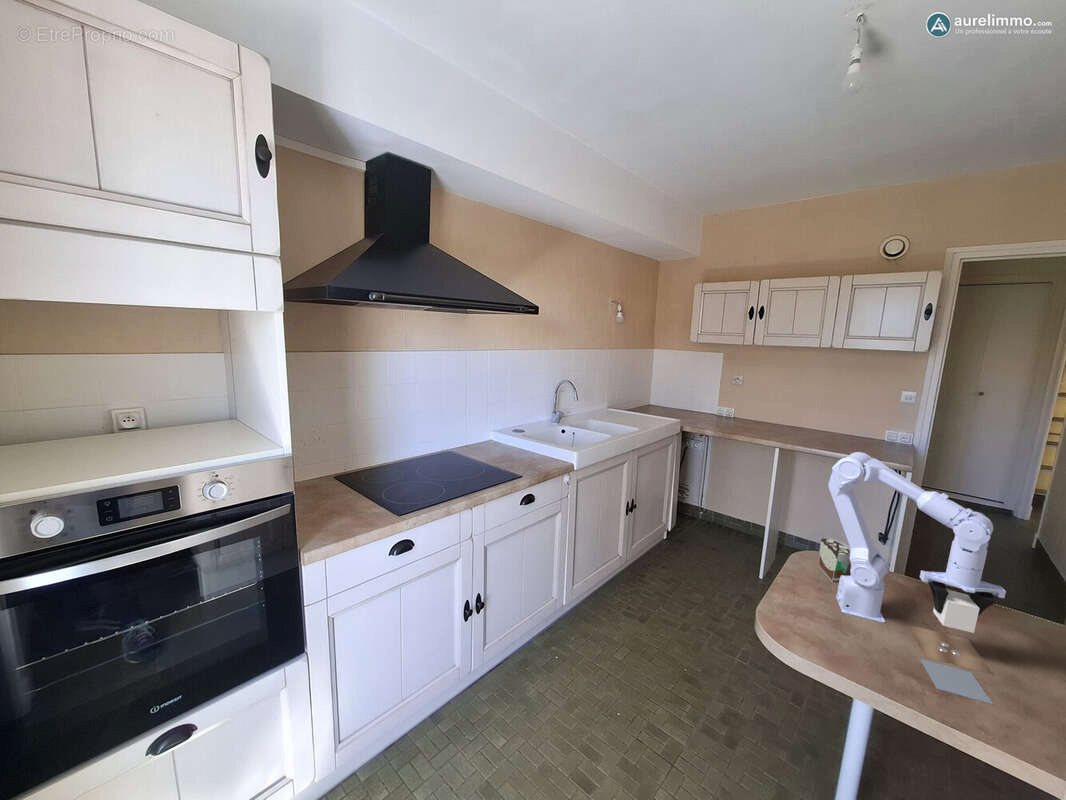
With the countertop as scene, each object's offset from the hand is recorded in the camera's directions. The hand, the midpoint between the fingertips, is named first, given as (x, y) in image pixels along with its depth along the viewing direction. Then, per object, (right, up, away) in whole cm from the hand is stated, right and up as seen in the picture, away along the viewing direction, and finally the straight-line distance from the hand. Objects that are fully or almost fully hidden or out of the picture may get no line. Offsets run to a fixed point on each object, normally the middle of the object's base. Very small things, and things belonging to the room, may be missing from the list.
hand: (954, 614), depth 101 cm
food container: (-6, -4, +32) cm, 32 cm away
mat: (-8, -11, -8) cm, 16 cm away
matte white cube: (0, -2, 0) cm, 2 cm away
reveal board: (0, -9, +2) cm, 9 cm away
